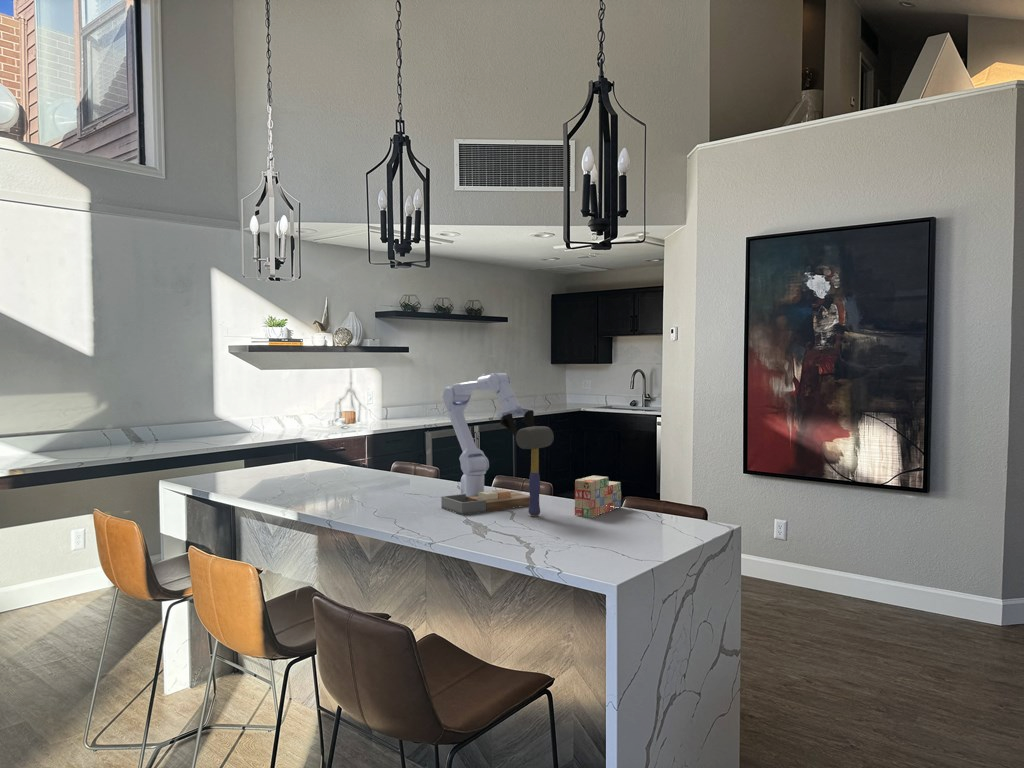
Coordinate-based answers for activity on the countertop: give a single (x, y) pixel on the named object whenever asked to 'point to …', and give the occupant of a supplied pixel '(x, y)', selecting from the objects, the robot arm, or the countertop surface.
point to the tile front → (488, 495)
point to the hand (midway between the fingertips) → (524, 432)
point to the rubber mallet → (534, 459)
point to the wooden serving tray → (503, 501)
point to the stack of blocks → (596, 495)
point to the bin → (462, 504)
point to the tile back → (503, 493)
